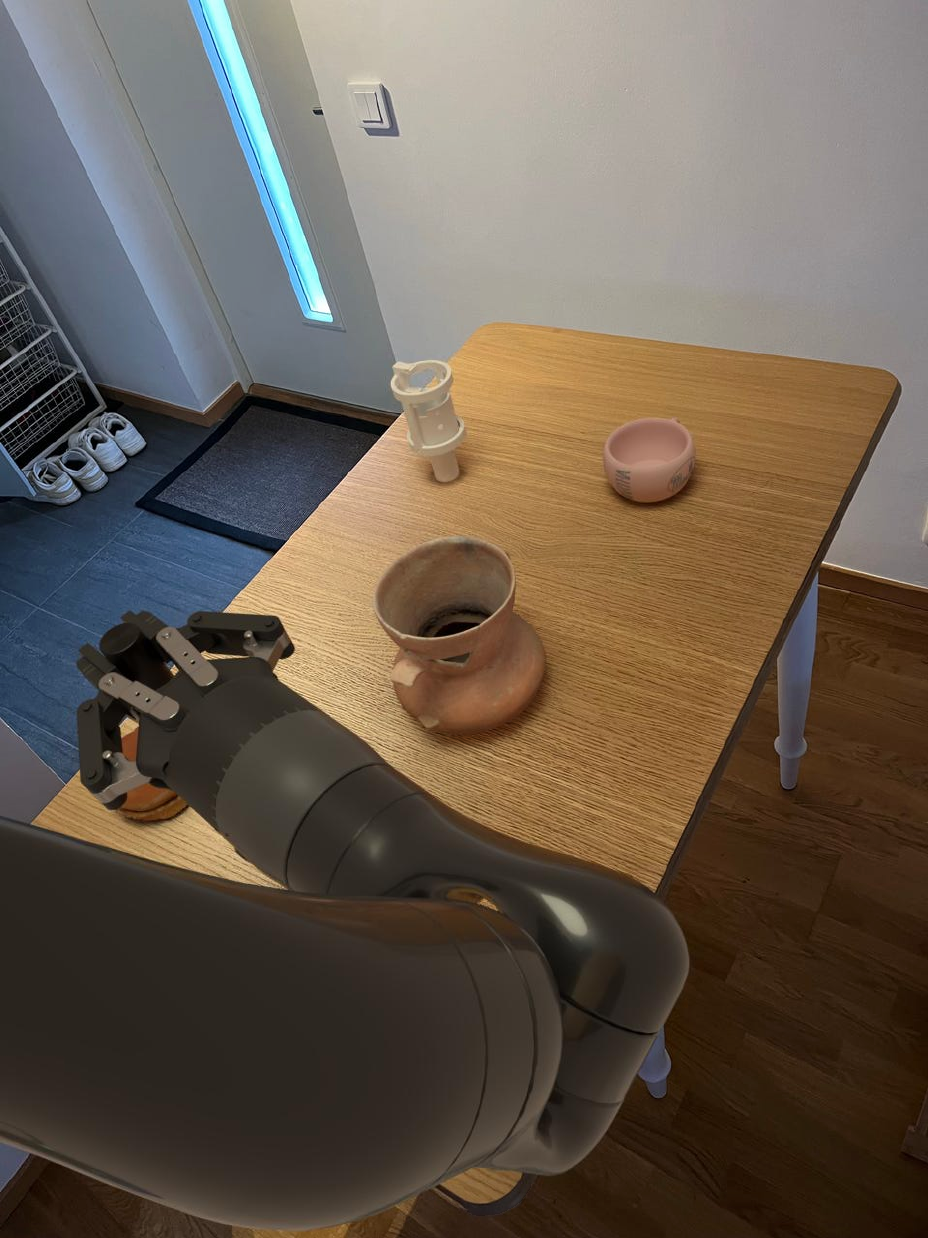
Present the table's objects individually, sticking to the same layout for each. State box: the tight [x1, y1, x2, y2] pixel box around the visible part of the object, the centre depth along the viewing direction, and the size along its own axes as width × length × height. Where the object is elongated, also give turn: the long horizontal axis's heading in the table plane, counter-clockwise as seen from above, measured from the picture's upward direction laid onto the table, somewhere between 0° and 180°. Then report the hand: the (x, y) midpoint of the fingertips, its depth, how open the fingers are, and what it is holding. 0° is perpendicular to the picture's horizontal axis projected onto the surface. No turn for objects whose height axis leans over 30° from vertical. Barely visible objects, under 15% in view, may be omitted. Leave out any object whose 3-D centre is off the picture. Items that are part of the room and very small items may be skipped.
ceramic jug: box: [372, 535, 547, 736], centre depth 75 cm, size 18×14×14 cm
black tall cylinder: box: [98, 622, 175, 691], centre depth 53 cm, size 2×3×17 cm
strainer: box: [390, 359, 467, 483], centre depth 98 cm, size 7×7×15 cm
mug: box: [602, 417, 697, 503], centre depth 93 cm, size 12×10×6 cm
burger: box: [115, 725, 189, 822], centre depth 79 cm, size 10×9×5 cm
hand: (110, 640), depth 50 cm, fingers closed on black tall cylinder, 2 cm apart
